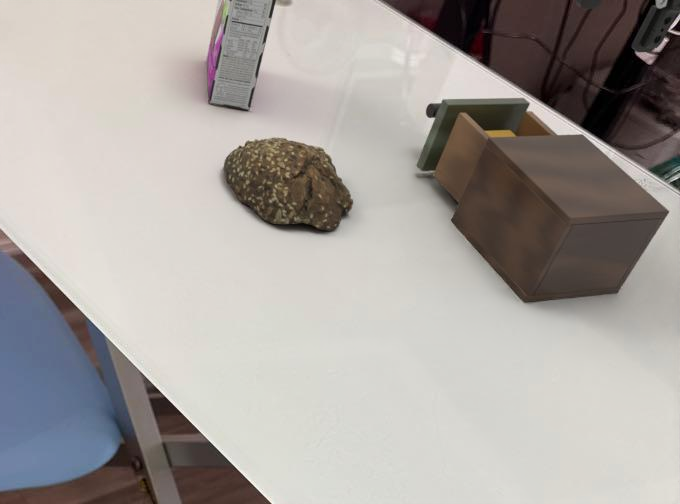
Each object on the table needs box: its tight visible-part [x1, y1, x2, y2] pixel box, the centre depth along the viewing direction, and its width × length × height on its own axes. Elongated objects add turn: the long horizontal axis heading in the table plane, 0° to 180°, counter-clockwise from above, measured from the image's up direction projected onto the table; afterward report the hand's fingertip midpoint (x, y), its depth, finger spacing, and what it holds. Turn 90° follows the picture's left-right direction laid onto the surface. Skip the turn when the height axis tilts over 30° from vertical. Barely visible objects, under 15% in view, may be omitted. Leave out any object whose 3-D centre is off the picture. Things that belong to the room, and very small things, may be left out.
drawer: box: [415, 97, 558, 204], centre depth 100 cm, size 17×10×7 cm, turn 20°
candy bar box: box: [206, 0, 277, 111], centre depth 104 cm, size 11×5×16 cm, turn 179°
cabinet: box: [450, 133, 670, 303], centre depth 94 cm, size 13×11×9 cm
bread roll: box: [222, 137, 354, 231], centre depth 95 cm, size 13×12×5 cm
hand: (613, 28), depth 90 cm, fingers open, 8 cm apart
